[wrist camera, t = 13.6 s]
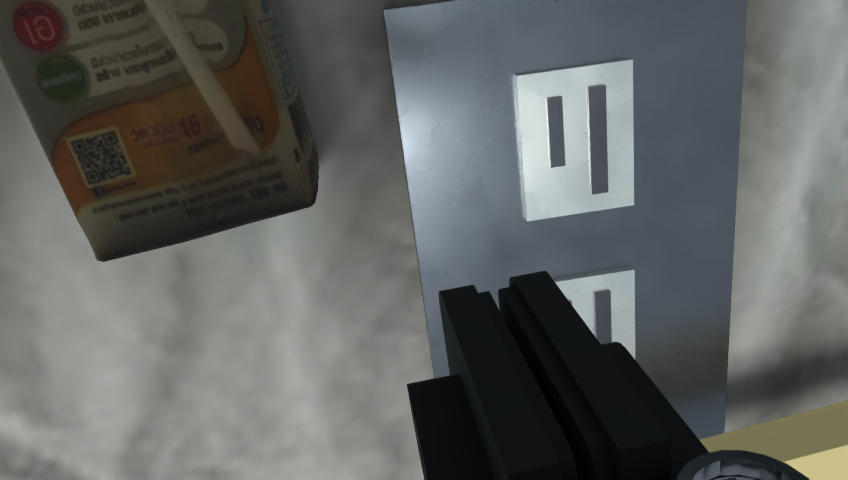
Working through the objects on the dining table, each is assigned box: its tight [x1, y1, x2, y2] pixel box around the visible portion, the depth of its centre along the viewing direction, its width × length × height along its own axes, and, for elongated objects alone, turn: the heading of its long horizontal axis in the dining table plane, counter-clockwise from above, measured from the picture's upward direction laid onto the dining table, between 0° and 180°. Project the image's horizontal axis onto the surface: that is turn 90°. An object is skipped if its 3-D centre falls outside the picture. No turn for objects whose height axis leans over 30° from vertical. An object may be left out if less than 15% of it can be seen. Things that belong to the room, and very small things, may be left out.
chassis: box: [383, 0, 747, 440], centre depth 29 cm, size 24×14×4 cm, turn 7°
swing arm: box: [700, 400, 848, 480], centre depth 29 cm, size 20×4×3 cm, turn 104°
